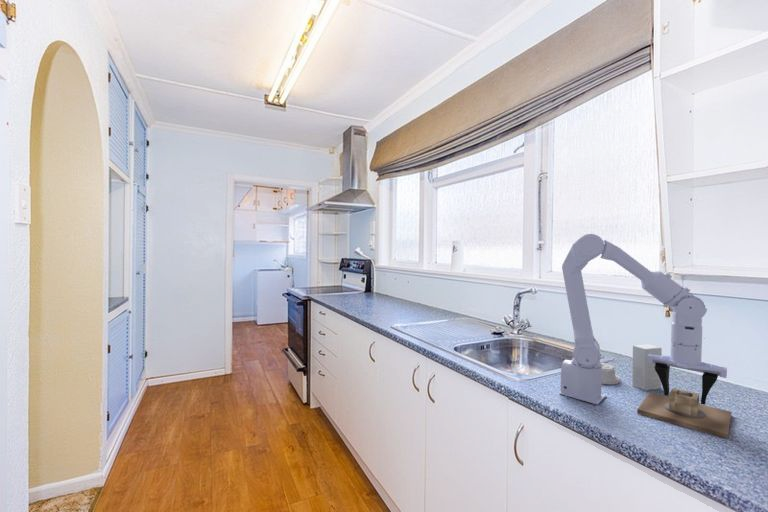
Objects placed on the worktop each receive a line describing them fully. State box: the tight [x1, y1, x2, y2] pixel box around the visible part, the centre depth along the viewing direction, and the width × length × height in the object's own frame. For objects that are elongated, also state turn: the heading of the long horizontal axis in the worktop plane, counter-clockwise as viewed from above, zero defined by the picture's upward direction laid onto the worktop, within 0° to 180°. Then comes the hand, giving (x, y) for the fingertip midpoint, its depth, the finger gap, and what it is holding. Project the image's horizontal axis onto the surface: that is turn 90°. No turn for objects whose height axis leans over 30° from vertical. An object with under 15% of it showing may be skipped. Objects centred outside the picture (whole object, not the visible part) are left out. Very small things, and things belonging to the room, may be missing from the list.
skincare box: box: [631, 343, 663, 392], centre depth 104 cm, size 6×4×12 cm
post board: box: [637, 390, 732, 440], centre depth 87 cm, size 16×15×6 cm
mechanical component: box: [600, 362, 621, 385], centre depth 111 cm, size 10×4×10 cm
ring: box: [669, 387, 700, 417], centre depth 87 cm, size 5×5×4 cm
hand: (684, 398), depth 87 cm, fingers open, 6 cm apart
